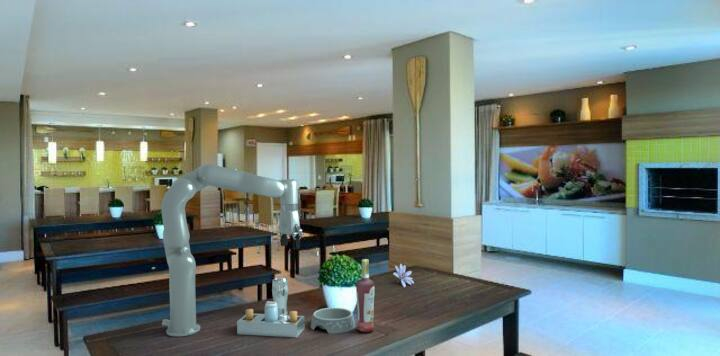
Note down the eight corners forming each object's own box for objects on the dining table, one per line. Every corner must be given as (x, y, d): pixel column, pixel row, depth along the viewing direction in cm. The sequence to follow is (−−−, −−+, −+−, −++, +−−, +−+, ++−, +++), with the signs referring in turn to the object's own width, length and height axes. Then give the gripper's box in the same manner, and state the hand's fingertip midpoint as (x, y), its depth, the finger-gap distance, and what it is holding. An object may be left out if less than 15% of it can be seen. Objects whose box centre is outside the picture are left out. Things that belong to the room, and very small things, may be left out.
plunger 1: (244, 323, 186) (244, 311, 186) (247, 321, 189) (247, 308, 189) (251, 324, 186) (251, 311, 185) (254, 321, 189) (254, 309, 188)
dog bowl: (326, 316, 204) (326, 304, 204) (363, 323, 195) (363, 310, 195) (302, 328, 189) (301, 315, 189) (340, 337, 180) (340, 323, 180)
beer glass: (285, 316, 203) (284, 282, 203) (270, 315, 204) (269, 281, 204) (290, 311, 210) (290, 278, 209) (276, 310, 211) (275, 277, 211)
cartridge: (263, 333, 184) (262, 303, 183) (267, 328, 189) (267, 299, 188) (275, 333, 183) (275, 304, 183) (279, 329, 188) (279, 300, 188)
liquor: (368, 335, 181) (368, 262, 180) (352, 331, 185) (352, 260, 184) (378, 329, 187) (377, 259, 186) (362, 326, 191) (362, 257, 190)
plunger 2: (288, 325, 183) (288, 313, 183) (290, 323, 186) (290, 310, 186) (296, 326, 183) (295, 313, 182) (298, 323, 186) (298, 311, 185)
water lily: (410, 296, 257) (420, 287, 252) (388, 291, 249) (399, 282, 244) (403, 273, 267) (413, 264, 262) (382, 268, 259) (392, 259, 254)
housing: (237, 334, 183) (237, 321, 183) (247, 325, 193) (247, 313, 193) (297, 337, 179) (297, 324, 179) (304, 328, 189) (304, 315, 189)
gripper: (271, 207, 209) (272, 245, 209) (292, 210, 196) (293, 251, 196) (286, 205, 214) (287, 243, 214) (308, 208, 201) (308, 248, 201)
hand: (290, 247), depth 205 cm, fingers open, 9 cm apart
